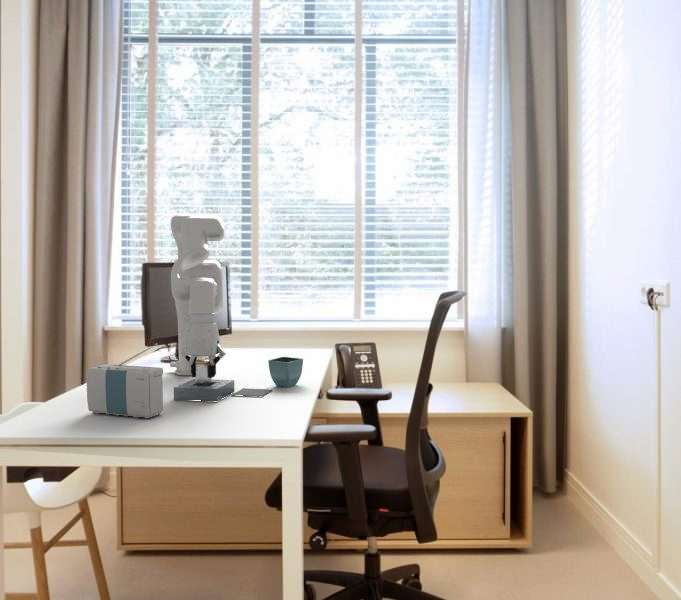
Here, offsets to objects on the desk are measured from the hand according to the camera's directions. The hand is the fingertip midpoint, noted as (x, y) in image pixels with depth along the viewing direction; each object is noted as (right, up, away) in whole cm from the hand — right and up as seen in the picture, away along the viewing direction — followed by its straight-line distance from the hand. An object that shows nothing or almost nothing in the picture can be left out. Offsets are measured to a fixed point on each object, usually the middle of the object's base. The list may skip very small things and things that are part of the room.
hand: (203, 376), depth 195 cm
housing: (0, -6, 0) cm, 6 cm away
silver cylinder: (0, -5, 0) cm, 5 cm away
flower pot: (+24, -5, +16) cm, 30 cm away
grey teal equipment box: (-17, -8, -22) cm, 28 cm away
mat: (+15, -6, +4) cm, 16 cm away
